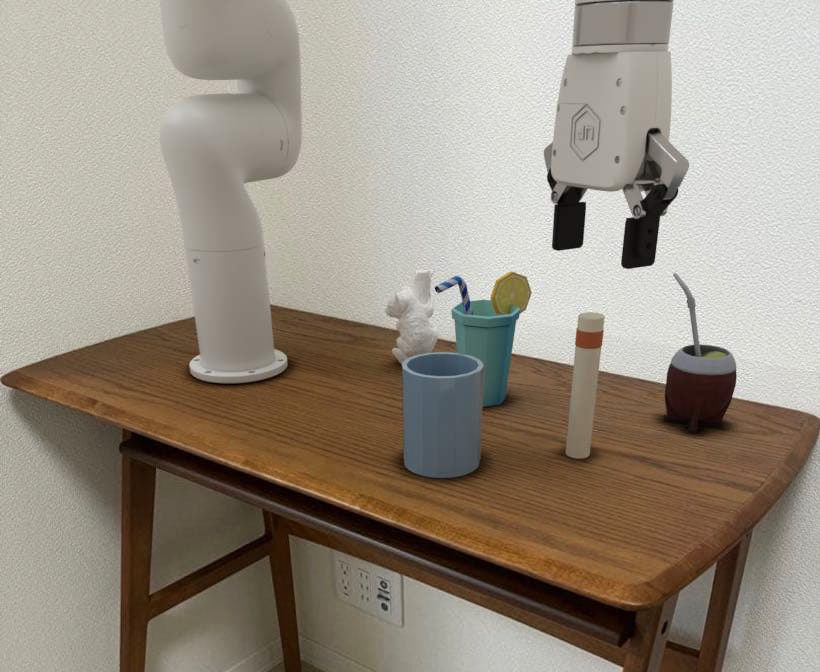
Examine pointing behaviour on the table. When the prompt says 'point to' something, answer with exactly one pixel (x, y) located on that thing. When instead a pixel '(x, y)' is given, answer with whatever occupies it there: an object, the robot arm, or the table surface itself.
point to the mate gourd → (699, 380)
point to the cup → (490, 328)
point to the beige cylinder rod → (584, 384)
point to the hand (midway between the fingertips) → (600, 257)
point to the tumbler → (442, 414)
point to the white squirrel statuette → (413, 317)
